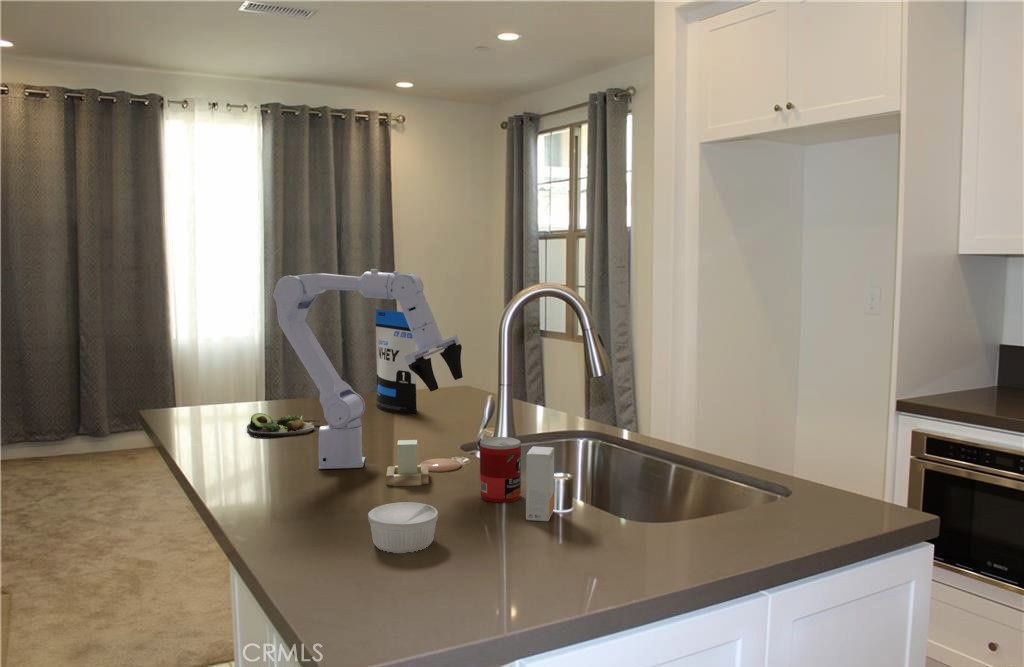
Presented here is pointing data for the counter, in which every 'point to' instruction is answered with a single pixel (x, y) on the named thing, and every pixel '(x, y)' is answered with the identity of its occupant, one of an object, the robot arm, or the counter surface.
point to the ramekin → (403, 526)
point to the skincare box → (539, 483)
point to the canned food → (500, 469)
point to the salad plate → (278, 425)
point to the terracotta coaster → (441, 465)
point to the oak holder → (407, 476)
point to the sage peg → (407, 456)
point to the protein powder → (394, 364)
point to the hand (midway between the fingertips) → (447, 384)
